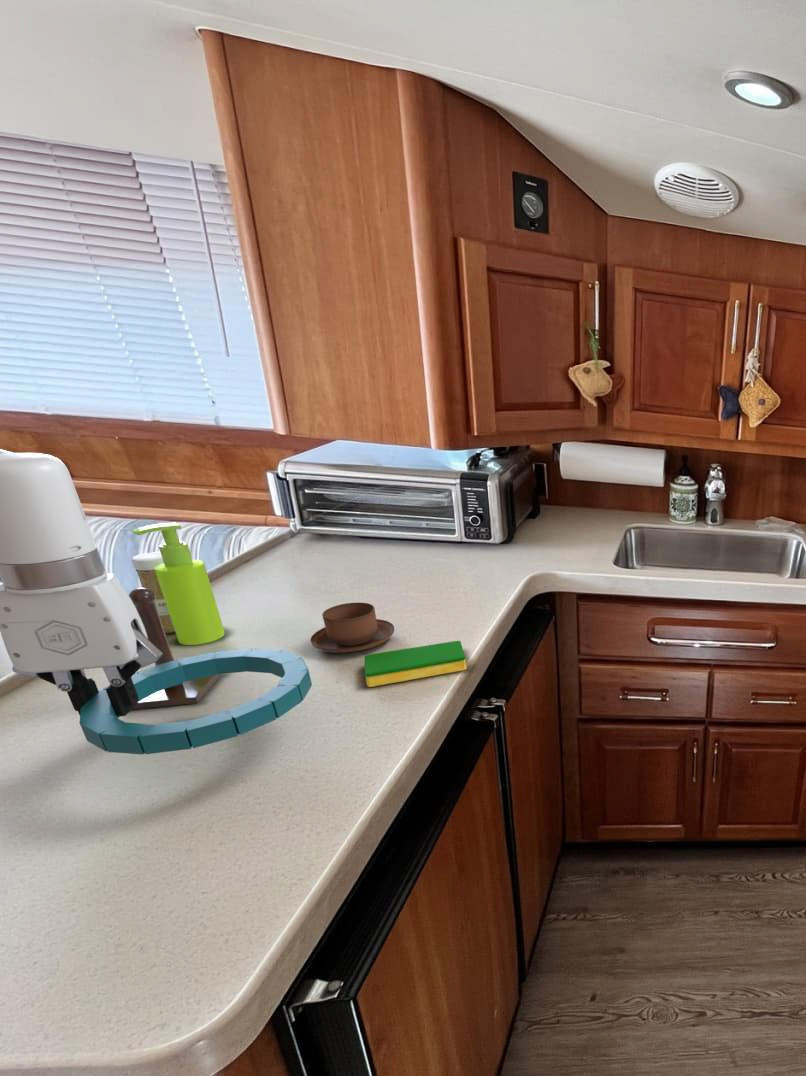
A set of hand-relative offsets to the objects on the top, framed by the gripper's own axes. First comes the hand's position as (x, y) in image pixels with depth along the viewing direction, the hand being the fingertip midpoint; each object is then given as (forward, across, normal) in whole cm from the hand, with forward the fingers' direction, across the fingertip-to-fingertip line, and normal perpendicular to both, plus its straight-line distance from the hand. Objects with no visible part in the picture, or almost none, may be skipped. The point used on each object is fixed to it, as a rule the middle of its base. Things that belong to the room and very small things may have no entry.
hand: (110, 711), depth 76 cm
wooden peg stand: (+7, -2, +17) cm, 19 cm away
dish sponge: (+7, +29, +17) cm, 35 cm away
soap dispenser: (+7, -6, +36) cm, 37 cm away
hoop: (0, +9, 0) cm, 9 cm away
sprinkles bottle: (+7, -11, +41) cm, 43 cm away
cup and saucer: (+7, +18, +29) cm, 35 cm away
